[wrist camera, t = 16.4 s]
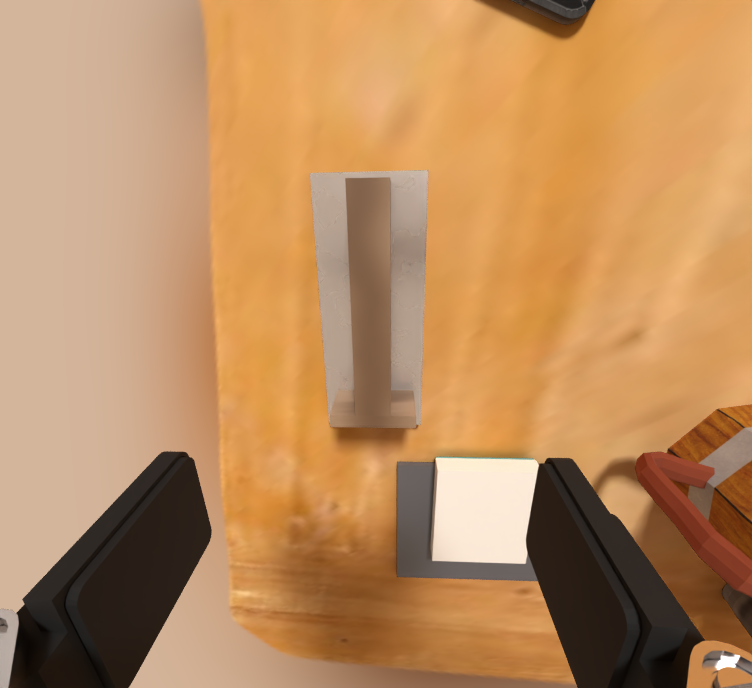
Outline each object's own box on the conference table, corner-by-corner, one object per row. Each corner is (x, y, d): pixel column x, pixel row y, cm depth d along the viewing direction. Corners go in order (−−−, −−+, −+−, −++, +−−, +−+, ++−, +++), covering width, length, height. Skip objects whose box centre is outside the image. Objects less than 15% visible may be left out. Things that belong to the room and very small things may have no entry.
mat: (569, 464, 34) (571, 468, 33) (545, 576, 39) (546, 581, 39) (397, 461, 34) (397, 465, 34) (397, 572, 40) (397, 576, 39)
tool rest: (426, 171, 25) (428, 170, 24) (419, 417, 32) (420, 424, 31) (313, 174, 26) (309, 173, 25) (331, 416, 33) (329, 423, 32)
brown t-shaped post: (418, 180, 24) (423, 176, 21) (413, 400, 31) (416, 428, 27) (324, 182, 25) (312, 178, 21) (338, 400, 31) (330, 426, 27)
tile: (543, 472, 31) (525, 563, 35) (534, 457, 33) (518, 545, 37) (437, 470, 31) (432, 560, 35) (435, 455, 33) (430, 542, 37)
